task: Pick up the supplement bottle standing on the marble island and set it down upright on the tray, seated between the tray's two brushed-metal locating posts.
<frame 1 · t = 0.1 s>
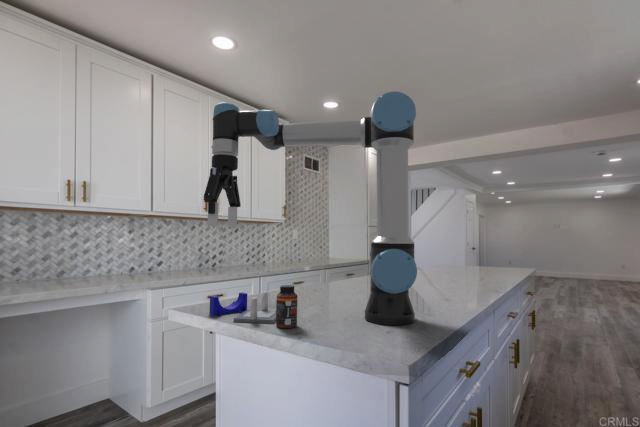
hand: (223, 227, 101), 28 cm above the worktop, fingers open, 13 cm apart
supplement bottle: (286, 327, 97), on the worktop
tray: (259, 317, 107), on the worktop
cable clip: (227, 313, 114), on the worktop
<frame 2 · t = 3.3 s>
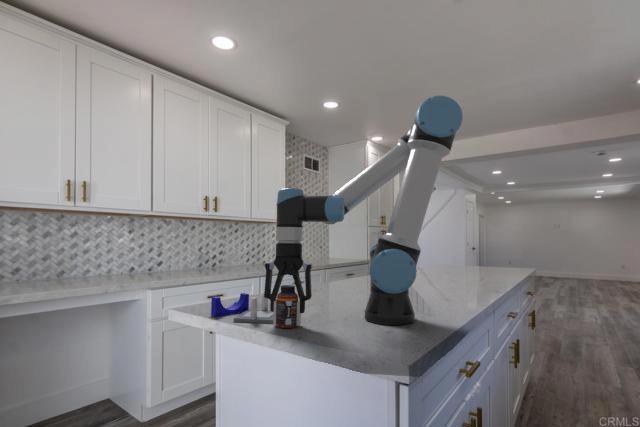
hand: (287, 323, 97), 1 cm above the worktop, fingers closed on supplement bottle, 6 cm apart
supplement bottle: (286, 327, 97), on the worktop, touching gripper
cable clip: (229, 314, 113), on the worktop
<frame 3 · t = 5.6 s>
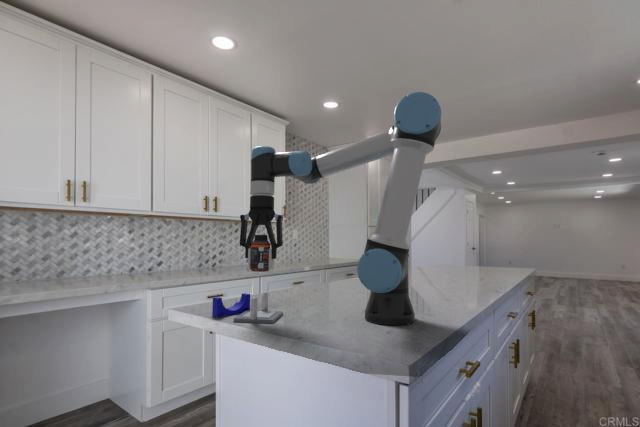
hand: (260, 269, 107), 15 cm above the worktop, fingers closed on supplement bottle, 6 cm apart
supplement bottle: (260, 271, 107), point 14 cm above the worktop, touching gripper
when the fingers open (3 cm above the worktop, at t = 8.0 s): supplement bottle drops 2 cm, resting on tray.
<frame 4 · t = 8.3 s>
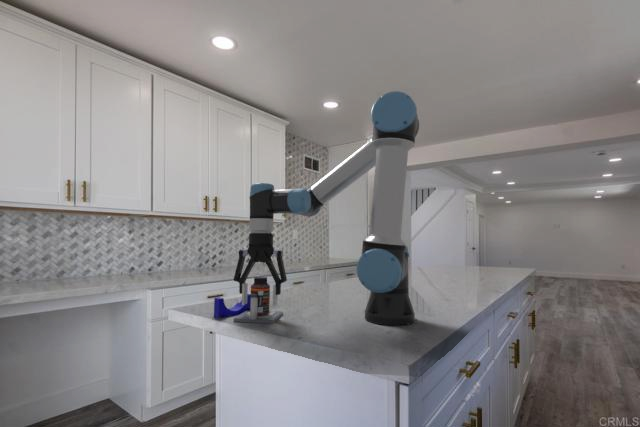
hand: (259, 304, 107), 4 cm above the worktop, fingers open, 9 cm apart
supplement bottle: (259, 314, 106), point 1 cm above the worktop, touching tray
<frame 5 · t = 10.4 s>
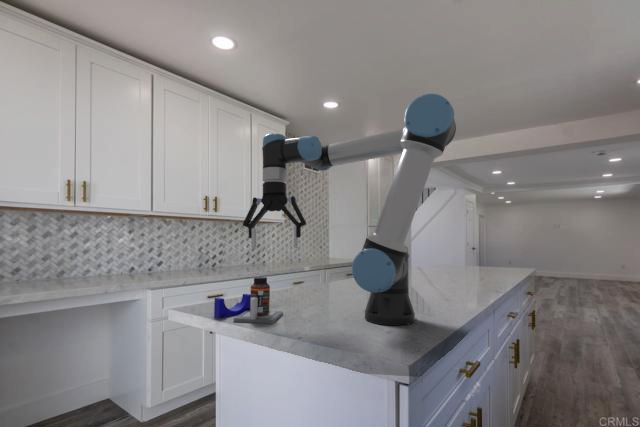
hand: (274, 248, 109), 21 cm above the worktop, fingers open, 13 cm apart
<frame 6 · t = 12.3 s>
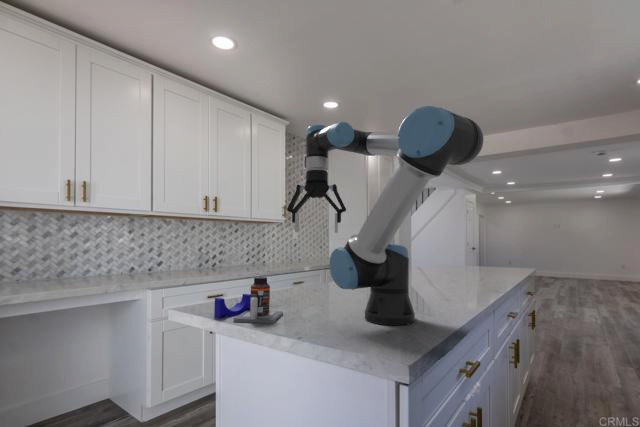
hand: (316, 232, 117), 27 cm above the worktop, fingers open, 13 cm apart
at the end: supplement bottle 0.4 cm off-centre on the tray, point 1.0 cm above the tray's base; supplement bottle tilted 0°; the gripper is holding nothing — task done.
